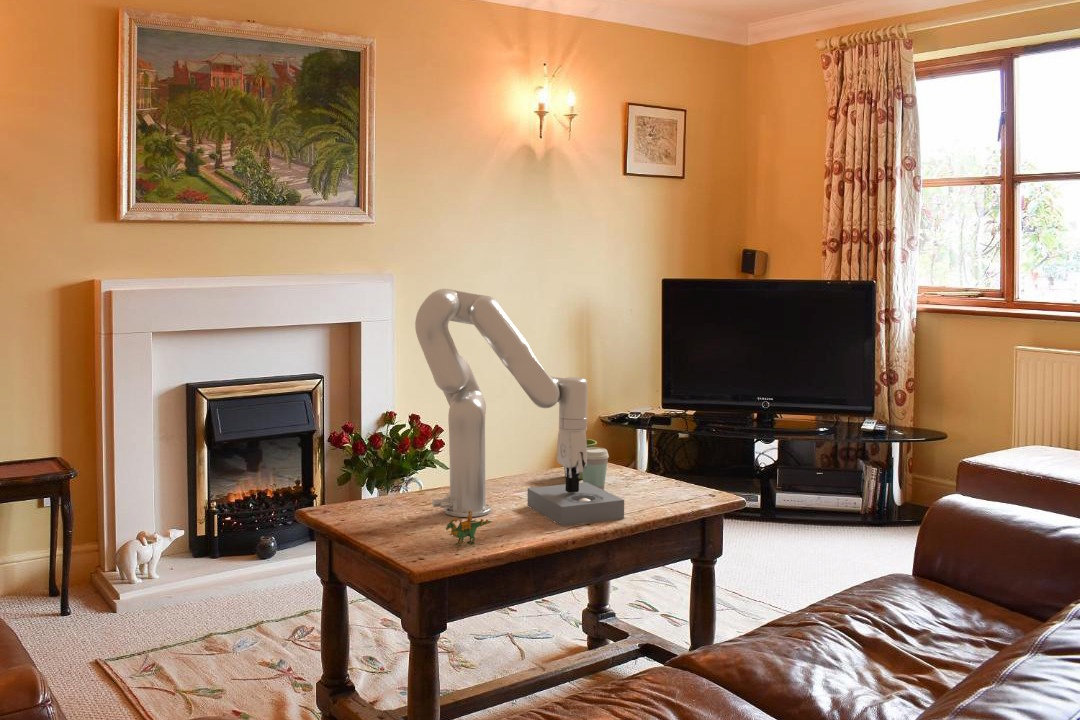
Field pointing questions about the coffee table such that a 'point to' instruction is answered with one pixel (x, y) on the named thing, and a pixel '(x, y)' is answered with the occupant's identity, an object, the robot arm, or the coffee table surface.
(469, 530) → the figurine
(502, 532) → the coffee table surface
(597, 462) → the coffee cup
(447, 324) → the robot arm
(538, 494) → the grey flat block
